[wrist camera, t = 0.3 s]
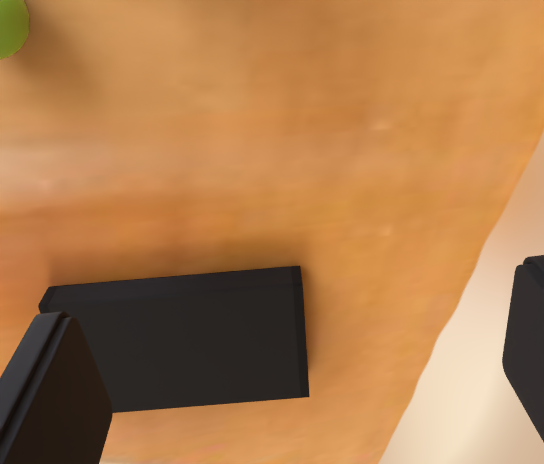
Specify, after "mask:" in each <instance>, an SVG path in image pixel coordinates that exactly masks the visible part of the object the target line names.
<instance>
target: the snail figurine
mask: <svg viewBox="0 0 544 464" xmlns="http://www.w3.org/2000/svg"><path fill="white" fill-rule="evenodd" d="M29 28H30V18H29V13H28V9H27V6H26V4H25V2H24V0H0V59H4V58H7V57H9V56H11V55H13V54H14V53H16V52H17V51H18V50H19V49H20V48H21V47H22V46H23V44H24V43H25V41H26V39H27V37H28V33H29Z"/></svg>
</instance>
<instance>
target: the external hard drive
mask: <svg viewBox="0 0 544 464" xmlns="http://www.w3.org/2000/svg"><path fill="white" fill-rule="evenodd" d="M39 310H40V313H41V314H44V313H53V312H61V311H65V312H67V313H68V314H69V315H70V317H76V318H77V319H78V321H79V323H80V325H81V328H82V330H83V333H84V335H85V338H86V340H87V343H88V345H89V348H90V350H91V353H92V355H93V358H94V360H95V363H96V365H97V368H98V370H99V372H100V375H101V377H102V380H103V382H104V385H105V387H106V390H107V392H108V395H109V397H110V400H111V403H112V410H113V413H117V412H130V411H142V410H155V409H167V408H179V407H192V406H204V405H216V404H229V403H241V402H254V401H266V400H278V399H291V398H303V397H309V382H308V366H307V349H306V333H305V317H304V300H303V284H302V277H301V270H300V266H292V267H280V268H268V269H256V270H244V271H232V272H220V273H209V274H197V275H185V276H173V277H161V278H149V279H137V280H125V281H113V282H102V283H90V284H78V285H66V286H54V287H48V289H47V291H46V293H45V294H44V296H43V298H42V300H41V301H40V303H39Z"/></svg>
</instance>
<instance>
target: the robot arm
mask: <svg viewBox="0 0 544 464" xmlns="http://www.w3.org/2000/svg"><path fill="white" fill-rule="evenodd" d="M502 363H503V369H504V372H505V374H506V377H507V378H508V380H509V382H510V384H511V385H512V387H513V389H514V390H515V393H516V394H517V396H518V398H519V400H520V401H521V403H522V405H523V407H524V408H525V410H526V412H527V414H528V415H529V417H530V419H531V421H532V423H533V424H534V426H535V428H536V430H537V431H538V433H539V435H540V437H541V438H542V440H543V442H544V255H541V256H532V257H527V258H526V259H525V260H524V262H523V265H518V266H517V267H516V270H515V275H514V283H513V289H512V296H511V303H510V309H509V316H508V323H507V330H506V338H505V344H504V351H503V359H502ZM112 413H113V410H112V403H111V400H110V397H109V395H108V392H107V390H106V387H105V385H104V382H103V380H102V377H101V375H100V372H99V370H98V368H97V365H96V363H95V360H94V358H93V355H92V353H91V350H90V348H89V345H88V343H87V340H86V338H85V335H84V333H83V330H82V328H81V325H80V323H79V321H78V319H77V318H76V317H70V315H69V314H68V313H67V312H65V311H61V312H53V313H44V314H38V315H36V317H35V318H34V319H33V321H32V323H31V324H30V326H29V328H28V330H27V332H26V333H25V335H24V337H23V339H22V340H21V342H20V344H19V346H18V347H17V349H16V351H15V353H14V355H13V356H12V358H11V360H10V362H9V363H8V365H7V367H6V369H5V370H4V372H3V374H2V376H1V378H0V464H99V462H100V458H101V455H102V451H103V448H104V444H105V441H106V437H107V434H108V431H109V427H110V424H111V420H112Z"/></svg>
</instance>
